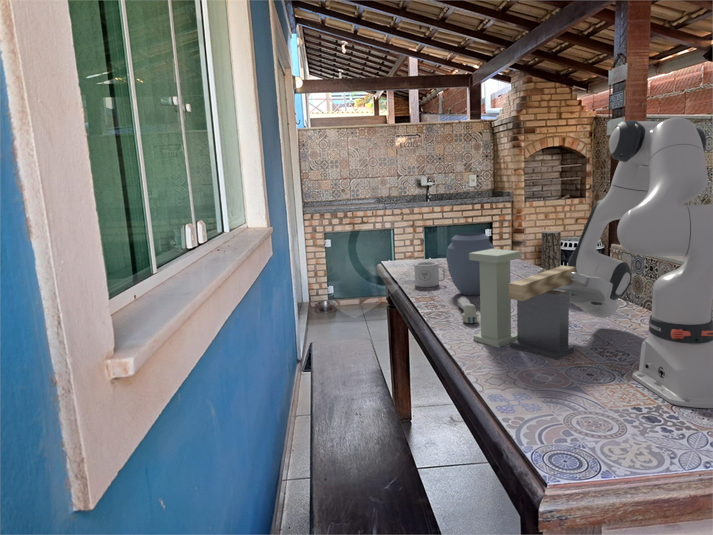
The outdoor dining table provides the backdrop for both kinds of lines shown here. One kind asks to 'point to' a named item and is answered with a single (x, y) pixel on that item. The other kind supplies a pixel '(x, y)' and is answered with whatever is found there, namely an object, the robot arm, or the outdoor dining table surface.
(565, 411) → the outdoor dining table surface
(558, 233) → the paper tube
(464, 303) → the light grey brush
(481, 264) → the pedestal
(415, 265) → the mug
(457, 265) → the vase
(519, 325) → the dark grey upright block
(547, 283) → the beam
